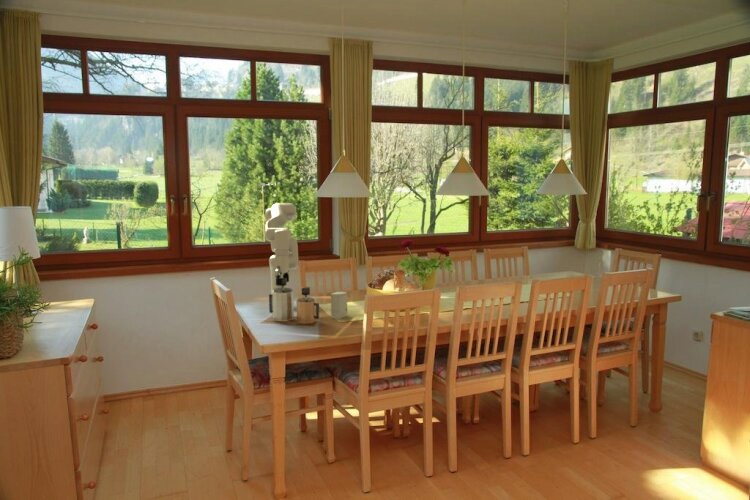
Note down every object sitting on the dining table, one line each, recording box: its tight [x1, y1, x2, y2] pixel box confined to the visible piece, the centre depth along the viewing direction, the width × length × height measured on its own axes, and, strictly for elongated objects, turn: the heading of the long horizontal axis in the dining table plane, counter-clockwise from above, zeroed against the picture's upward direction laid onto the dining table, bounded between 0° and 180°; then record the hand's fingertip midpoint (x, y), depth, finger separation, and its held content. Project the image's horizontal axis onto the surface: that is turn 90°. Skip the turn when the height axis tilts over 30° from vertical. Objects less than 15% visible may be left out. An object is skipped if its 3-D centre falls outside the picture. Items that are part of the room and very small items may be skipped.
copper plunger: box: [301, 286, 311, 300], centre depth 305 cm, size 6×6×15 cm
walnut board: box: [260, 314, 325, 328], centre depth 310 cm, size 18×30×1 cm, turn 77°
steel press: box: [268, 287, 295, 322], centre depth 311 cm, size 11×13×17 cm
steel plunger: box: [282, 278, 288, 290], centre depth 310 cm, size 8×8×19 cm
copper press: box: [296, 296, 320, 324], centre depth 306 cm, size 10×12×13 cm
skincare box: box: [330, 291, 348, 320], centre depth 317 cm, size 8×6×15 cm
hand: (282, 283), depth 310 cm, fingers open, 9 cm apart
